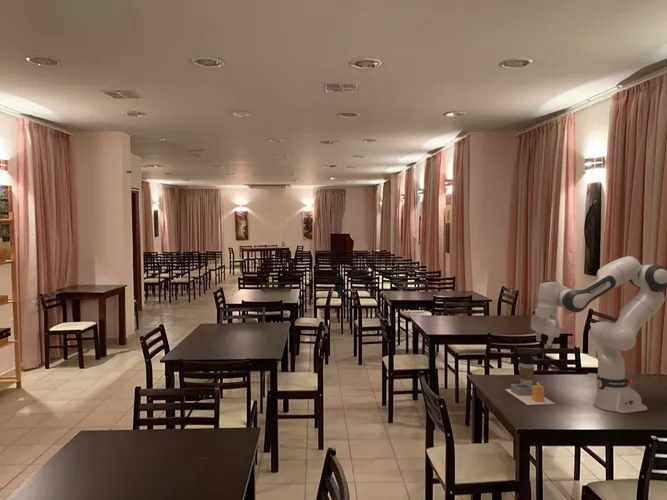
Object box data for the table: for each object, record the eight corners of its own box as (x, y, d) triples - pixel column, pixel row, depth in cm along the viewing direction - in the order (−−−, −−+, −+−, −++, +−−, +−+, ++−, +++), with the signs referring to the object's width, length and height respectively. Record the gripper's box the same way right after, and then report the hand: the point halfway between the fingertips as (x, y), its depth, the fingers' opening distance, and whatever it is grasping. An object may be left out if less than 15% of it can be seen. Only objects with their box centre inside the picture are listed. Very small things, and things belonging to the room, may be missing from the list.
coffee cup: (518, 386, 277) (518, 358, 277) (517, 382, 285) (518, 355, 285) (535, 388, 275) (535, 359, 274) (534, 383, 283) (534, 356, 282)
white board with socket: (530, 390, 271) (530, 381, 271) (555, 405, 247) (555, 396, 247) (504, 391, 269) (504, 382, 269) (527, 406, 245) (527, 397, 245)
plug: (539, 399, 253) (540, 381, 253) (544, 401, 249) (544, 383, 249) (532, 399, 253) (532, 381, 253) (536, 402, 249) (536, 384, 249)
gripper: (564, 318, 237) (562, 348, 237) (541, 311, 257) (539, 339, 257) (551, 317, 236) (548, 347, 236) (529, 310, 256) (527, 338, 257)
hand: (543, 343), depth 247 cm, fingers open, 8 cm apart
